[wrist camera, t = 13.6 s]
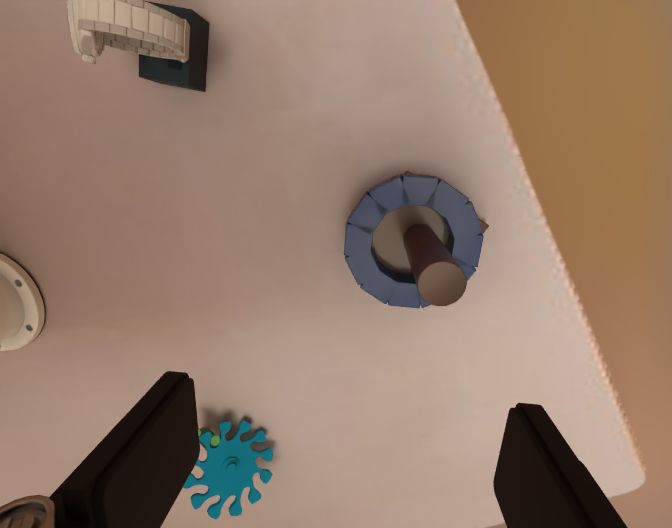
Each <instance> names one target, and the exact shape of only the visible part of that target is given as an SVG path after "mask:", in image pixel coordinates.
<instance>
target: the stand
mask: <svg viewBox="0 0 672 528" xmlns="http://www.w3.org/2000/svg"><path fill="white" fill-rule="evenodd" d="M405 174H409V175H413V174H412V173H410V172H409V171H406V172H405ZM478 220H479V222H480V225H481V227H482V230H483V233H484V232H485V231H486V229H487V228H488V227H489V225H488V224H486V223H485V222H483V221H482V220H480V219H479V218H478ZM483 233H481V234H483ZM448 236H449V232H448V229H447V227H446V224H445V222H444V220H443V217H442V216H441V215H440V214H438V213H437V212H435V211H434V210H432V209H431V208H430V207H427V206H413V205H405V206H403V207H400V208H398V209H396V210H394V211H392V212H390V213H387V214H386V215H385V216H384V217H383V219H382V220H381V222H380V223H379V224H378V226H377V227H376V229H375V230H374V231H373V238H372V248H373V250H374V253H375V255H376V257H377V259H378V261H379V263H380V264H382V265H383V266H385V267H386V268H388V269H389V270H391V271H392V272H394V273H395V274H404V275H413V276H414V279H415V282H416V286H417V289H418V292H419V294H420V296H421V297H422V298H423V299H424V300H425V301H426V302H428V303H429V304H432V305H435V306H446V305H450V304H452V303H454V302H456V301H457V300H458V299H460V297H461V296H462V295H463V293H464V292H465V289H466V284H467V281H466V276H465V273H464V272H463V270H462V269H461V268H460V266H459V265H458V263H457V262H456V261H455V259H454V258H453V257H452V255H451V254H450V253H449V251H448V250H447V243H448Z"/></svg>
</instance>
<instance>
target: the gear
mask: <svg viewBox="0 0 672 528" xmlns="http://www.w3.org/2000/svg"><path fill="white" fill-rule="evenodd" d="M230 428H231V423H230V422H228V421H222V422H220V423H219V429H220V438H219V436H218V435H216V434H214V433H213V432H212V431H211V430H210V429H209V428H208V427H203V428H201V429H199V428H198V433H199V442H200V443H201V444H202V445H203V447H204V448H205V449H206V450H207V455H208V456H207V459H206V460H205V461H199V459H198V460H197V462H196V464H195V465H197V466H199V467H200V468H201V469H202V470H203V471H204V474H203V476H202V477H201V478H199V479H197V478H195V477H194V475H193V474H191V473H190V475H189V477H188V479H187V480H186V482H185V484H184V486H183V487H184V488H190V487H192V486H194V485H199V484H201V485H206V486H208V487H209V489H208V491H207V492H206V493H205V494H200V493H195V494H193V495H192V496H191V502H192V505H193V507H194V509H198V508H200V507H201V505H202V504H203V503H204V501H205V500H207V499H208V498H210V497H212V496H214V495H220V500H219V501H218V502H217V503H215V504H212V505H211V506H209V508H208V510H207V512H208V515H209V516H210V517H212V518H214V519H217V518H218V517H219V516H220V512H221V508H222V506H223V504H224V502H225V501H226V500H227V499H228V498H229V497H230V496H231V495H235V496H236V498H235V501H234V502H233V503H232V504H231V505H230V507H229V513H230V515H231V516H238V515H241V513H242V507H241V504H240V498H241V494H242V491H243V489H244V488H245V487H250V492H249V495H248V499H249V501H250V502H251V503H252V504H253V503H255V502H257V501H258V500H259V499H260V498H261V494H260V493H259V491H258V490H256V489H255V487H254V485H253V480H252V477H253V475H254V473H256V472H259V474H260V479H261V480H262V482H263V483H266V484H267V483H268V482H269V480H270V478H271V476H272V473H271V472H270V471H269V470H267V469H261V468H259V467H258V466H257V465H256V463H255V460H256V458H257V457H258V456H262V457H263V458H264V459H265V460H266V461H271V460H272V457H273V450H272V449H271V448H266V449H264V450H261V451H255V450H251V444H252V443H253V442H255V441H256V442H260V443H262V442H264V441H265V440H266V437H265V434H264V432H263V431H262V430H258V431H257V432H256V433H255V434H254V435H253V436H252V437H251V438H250V439H248V440H245V441H240V439H239V437H240V435H241V434H242V433H244V432H247V431H249V430H250V428H251V425H250V424H249V423H248V422H246V421H244V420H242V421H241V422H240V423H239V427H238V430H237V432H236V434H235V435H234V436H233V437H232V438H231V439H230V440H226V439H225V434H226V433H227V432H228V431H229V430H230Z"/></svg>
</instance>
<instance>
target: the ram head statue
mask: <svg viewBox="0 0 672 528" xmlns="http://www.w3.org/2000/svg"><path fill="white" fill-rule="evenodd" d="M66 5H67V12H68V22H69V29H70V34H71V39H72V43H73V46H74V49H75V51H76V53H77V54H80V55H82V59H83V61H84V62H87V63H92V64H96V58H95V57H98V56H100V55H101V53H102V51H104V45H106V46H110V47H113V48H117V49H121V50H124V51H128V52H133V53H136V47H137V54H139V77H141V78H145V79H148V80H151V81H154V82H157V83H161V84H166V85H171V86H177V87H182V88H187V89H193V90H198V91H203V92H205V86H206V70H207V53H208V36H209V22H207V21H206V20H205V19H203V18H202V17H201V16H200V15H198V14H197V13H196V12H194V11H193V10H192V9H186V8H180V7H175V6H169V5H164V4H158V3H152V2H147V1H143V0H127V2H126V0H67V2H66ZM83 54H85V55H83ZM93 56H94V57H93Z"/></svg>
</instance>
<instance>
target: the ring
mask: <svg viewBox="0 0 672 528" xmlns="http://www.w3.org/2000/svg"><path fill="white" fill-rule="evenodd" d="M405 205H413V206H427V207H430V208H431V209H432V210H434V211H435V212H437V213H438V214H440V215H441V216H442V217H443V220H444V222H445V224H446V227H447V229H448V232H449V236H448V243H447V250H448V251H449V253H450V254H451V255H452V257H453V258H454V259H455V261H456V262H457V263H458V265H459V266H460V268H461V269H462V270H463V272H464V273H465V276H466V281H467V280H468V279H469V278H470V277H471V275H472V274H473V273H474V272H475V271H476V269H475V268H474V267H478V262H479V257H480V252H481V247H482V241H483V235H482V234H481V233H483V230H482V227H481V225H480V222H479V220H478V217H477V215H476V212H475V210H474V207H473V204H472V202H471V201H469V198H467V197H466V196H465V195H463V194H462V193H460V192H459V191H458V190H456V189H455V188H453V187H452V186H450V185H449V184H448V183H446V182H445V181H443V180H442V179H440V178H437V177H434V176H423V175H409V174H401V177H400V176H399V175H397V176H395V177H392V178H390V179H388V180H386V181H384V182H382V183H380V184H378V185H376V186H374V187H372V188H370V189H369V192H368V191H366V193H365V194H364V196H363V197H362V199H361V200H360V201H359V203H358V204H357V206H356V207H355V209H354V210H353V212H352V213H351V215H350V216H349V219H348V222H347V224H346V236H345V250H344V255H345V260H346V262H347V264H348V266H349V268H350V270H351V272H352V274H353V276H354V278H355V280H356V282H357V284H358V285H360V284H361V288H362V289H363V290H365V291H366V292H368V293H369V294H371V295H372V296H374V297H375V298H377V299H378V300H380V301H381V302H383V303H384V304H386V303H387V302H388V305H391V306H401V307H411V308H420V304H421V306H422V308H424V307H426V306H429V305H431V304H429V303H428V302H426V301H425V300H424V299H423V298H422V297H421V296H420V294H419V292H418V289H417V286H416V282H415V279H414V276H413V275H404V274H395V273H394V272H392V271H391V270H389V269H388V268H386V267H385V266H383V265H382V264H380V263H379V261H378V259H377V257H376V255H375V253H374V250H373V248H372V238H373V231H374V230H375V229H376V227H377V226H378V224H379V223H380V222H381V220H382V219H383V217H384V216H385V215H386V214H387V213H390V212H392V211H394V210H396V209H398V208H400V207H403V206H405Z"/></svg>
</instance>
